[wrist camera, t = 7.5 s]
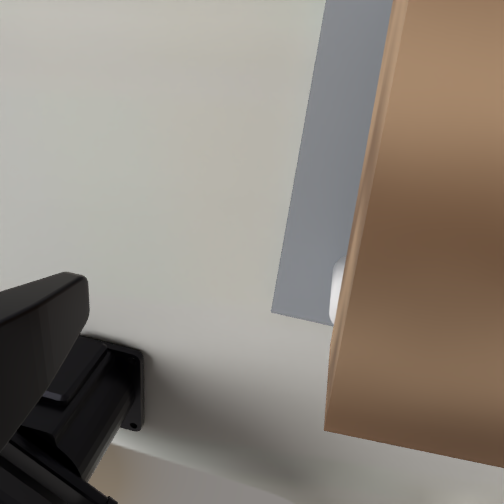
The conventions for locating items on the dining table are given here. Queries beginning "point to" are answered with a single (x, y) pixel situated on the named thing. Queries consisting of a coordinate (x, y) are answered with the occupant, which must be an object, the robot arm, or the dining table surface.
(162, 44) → the dining table surface
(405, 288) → the shelf board
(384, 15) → the peg plate
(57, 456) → the robot arm
